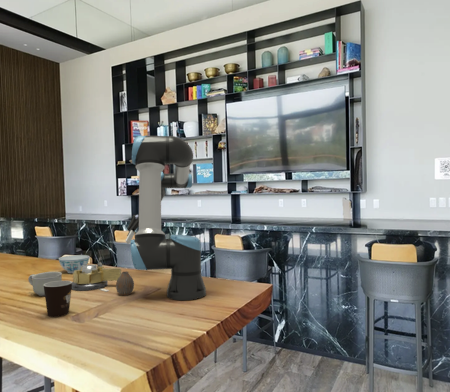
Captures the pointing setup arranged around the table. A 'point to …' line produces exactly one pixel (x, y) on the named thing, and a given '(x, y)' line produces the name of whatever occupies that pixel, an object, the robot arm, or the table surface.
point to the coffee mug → (58, 297)
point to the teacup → (43, 281)
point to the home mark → (104, 290)
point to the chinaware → (73, 262)
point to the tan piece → (96, 275)
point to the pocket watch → (99, 264)
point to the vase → (125, 284)
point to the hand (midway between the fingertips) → (131, 242)
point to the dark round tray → (92, 285)
